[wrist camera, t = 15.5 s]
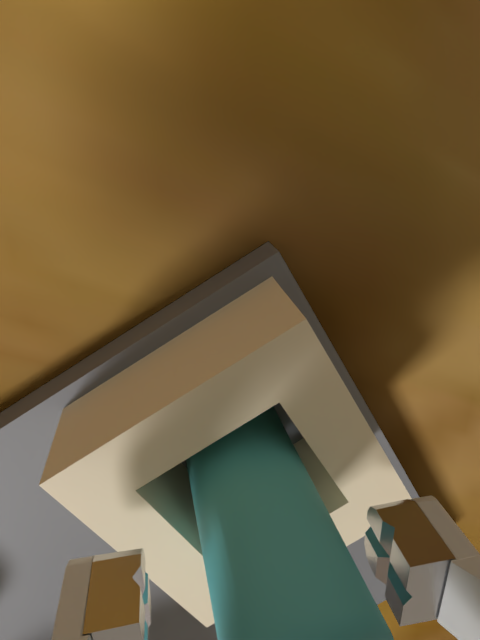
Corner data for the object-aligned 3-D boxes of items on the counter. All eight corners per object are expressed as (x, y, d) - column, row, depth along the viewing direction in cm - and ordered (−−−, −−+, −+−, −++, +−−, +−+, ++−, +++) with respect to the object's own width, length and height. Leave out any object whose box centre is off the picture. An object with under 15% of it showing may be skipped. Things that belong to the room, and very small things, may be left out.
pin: (225, 479, 15) (299, 742, 8) (160, 432, 13) (190, 703, 7) (293, 420, 14) (422, 649, 8) (233, 366, 13) (333, 590, 7)
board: (55, 756, 21) (33, 894, 17) (-283, 593, 14) (-439, 760, 11) (438, 536, 20) (506, 633, 16) (268, 240, 13) (315, 287, 9)
